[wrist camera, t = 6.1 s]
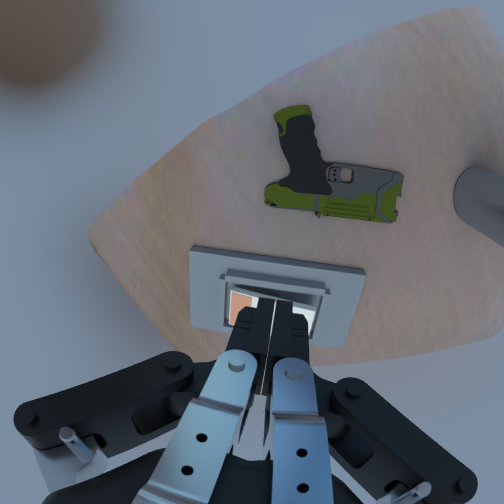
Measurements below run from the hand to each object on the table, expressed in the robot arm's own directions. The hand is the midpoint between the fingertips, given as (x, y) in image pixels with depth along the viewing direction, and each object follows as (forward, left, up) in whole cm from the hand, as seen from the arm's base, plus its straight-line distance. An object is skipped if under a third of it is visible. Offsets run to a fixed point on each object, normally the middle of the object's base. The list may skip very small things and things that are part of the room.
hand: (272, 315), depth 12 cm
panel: (0, +16, -27) cm, 31 cm away
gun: (-6, -6, -28) cm, 29 cm away
